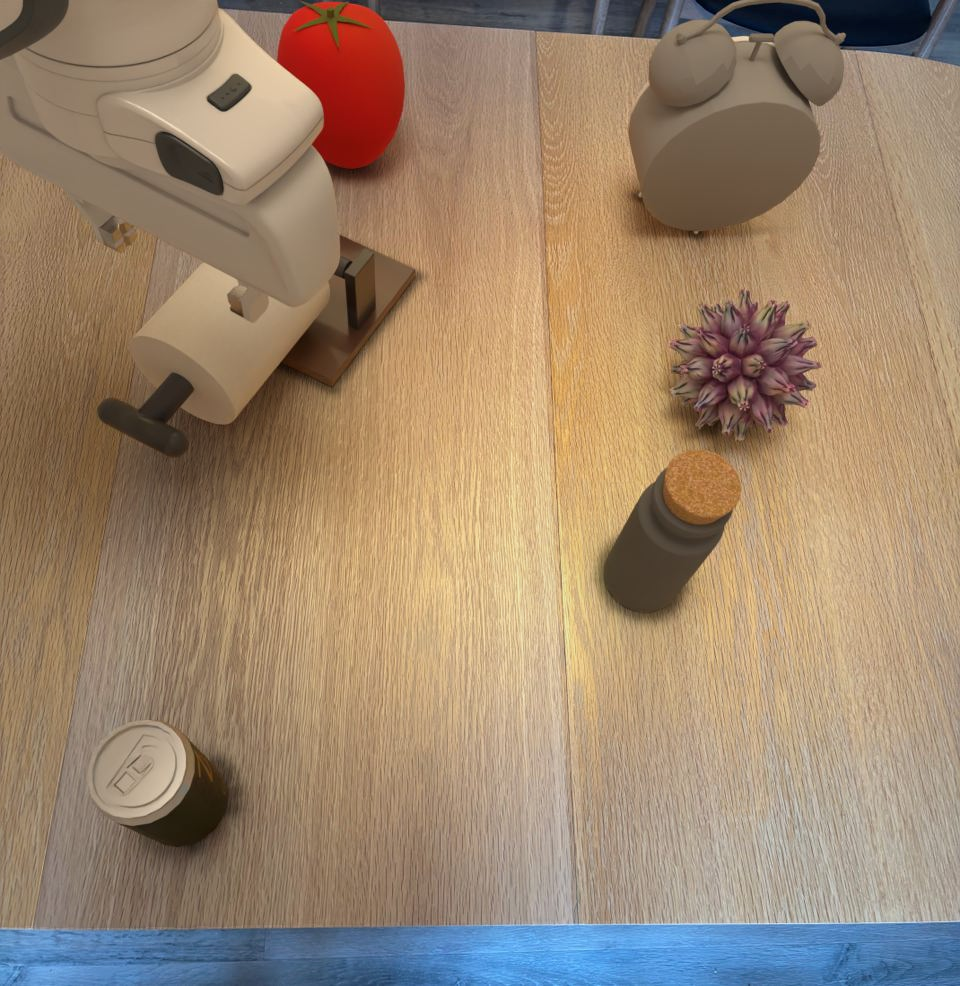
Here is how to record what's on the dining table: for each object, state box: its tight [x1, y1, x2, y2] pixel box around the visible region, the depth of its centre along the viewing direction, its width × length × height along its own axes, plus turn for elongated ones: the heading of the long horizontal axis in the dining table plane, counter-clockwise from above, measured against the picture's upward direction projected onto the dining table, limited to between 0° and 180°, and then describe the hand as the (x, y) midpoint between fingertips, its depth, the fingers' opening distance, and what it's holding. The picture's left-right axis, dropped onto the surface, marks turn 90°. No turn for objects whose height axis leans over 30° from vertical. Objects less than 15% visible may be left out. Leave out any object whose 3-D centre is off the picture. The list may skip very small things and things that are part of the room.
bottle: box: [603, 448, 742, 613], centre depth 58 cm, size 6×6×15 cm
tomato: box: [276, 0, 406, 170], centre depth 78 cm, size 13×11×14 cm
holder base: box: [280, 234, 416, 388], centre depth 72 cm, size 14×14×8 cm
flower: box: [668, 288, 822, 442], centre depth 68 cm, size 12×12×12 cm
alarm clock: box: [626, 0, 847, 235], centre depth 74 cm, size 16×9×22 cm, turn 97°
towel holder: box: [96, 255, 352, 459], centre depth 65 cm, size 22×9×9 cm, turn 153°
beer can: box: [86, 719, 229, 848], centre depth 49 cm, size 5×5×12 cm
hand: (184, 276), depth 51 cm, fingers open, 8 cm apart
